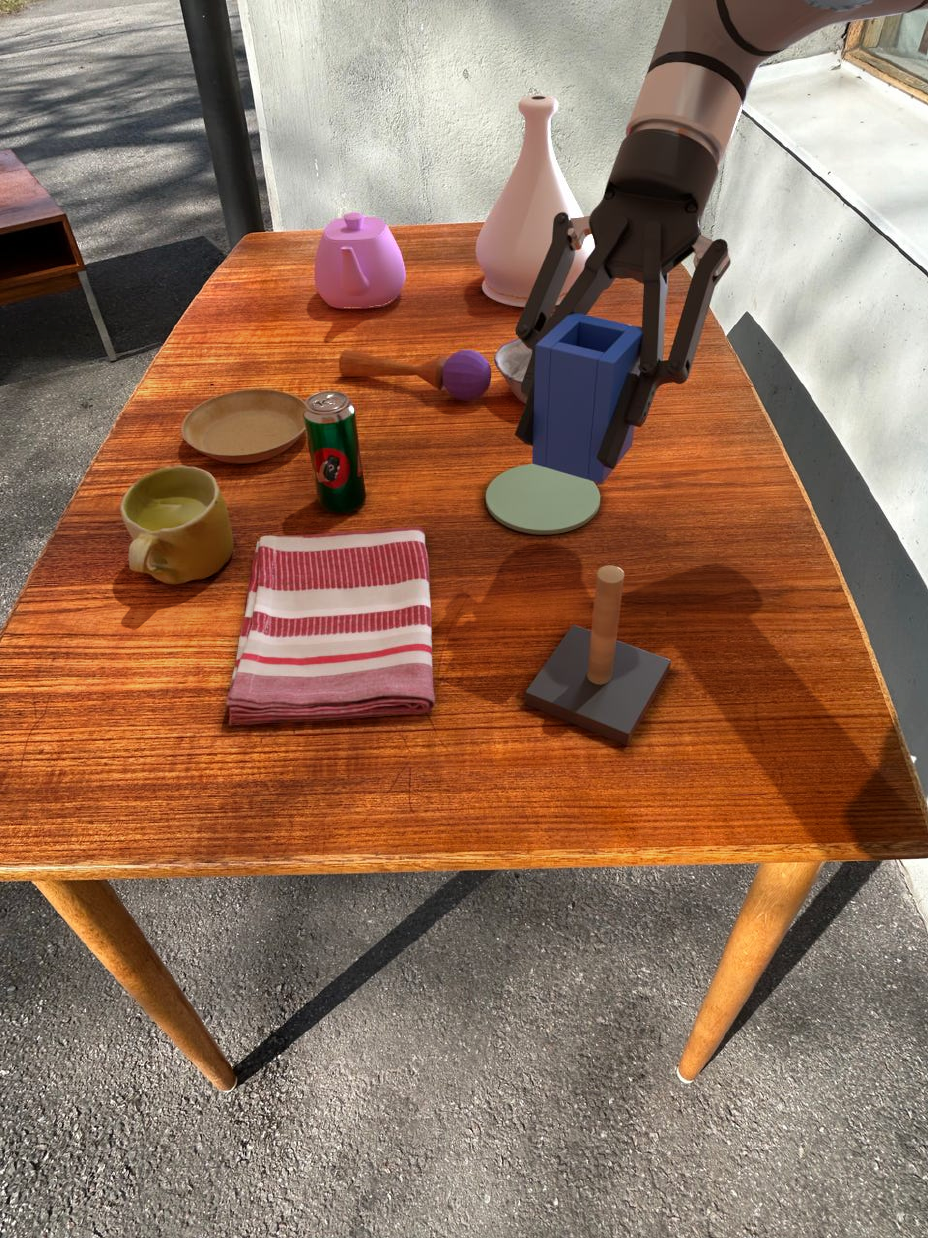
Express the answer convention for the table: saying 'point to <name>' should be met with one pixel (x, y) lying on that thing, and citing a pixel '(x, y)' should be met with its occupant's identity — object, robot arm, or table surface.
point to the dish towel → (335, 629)
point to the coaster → (541, 500)
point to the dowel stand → (599, 671)
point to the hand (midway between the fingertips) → (564, 451)
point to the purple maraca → (428, 371)
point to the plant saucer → (245, 425)
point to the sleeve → (581, 392)
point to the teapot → (358, 263)
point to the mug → (177, 525)
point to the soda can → (334, 451)
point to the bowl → (513, 365)
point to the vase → (528, 213)
